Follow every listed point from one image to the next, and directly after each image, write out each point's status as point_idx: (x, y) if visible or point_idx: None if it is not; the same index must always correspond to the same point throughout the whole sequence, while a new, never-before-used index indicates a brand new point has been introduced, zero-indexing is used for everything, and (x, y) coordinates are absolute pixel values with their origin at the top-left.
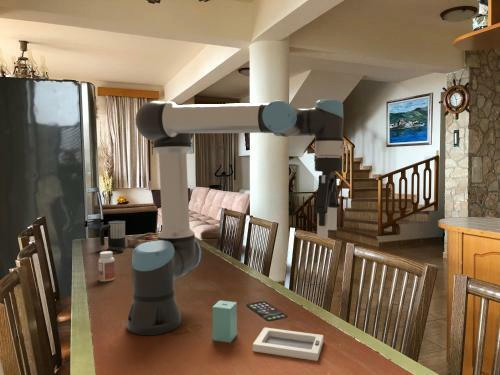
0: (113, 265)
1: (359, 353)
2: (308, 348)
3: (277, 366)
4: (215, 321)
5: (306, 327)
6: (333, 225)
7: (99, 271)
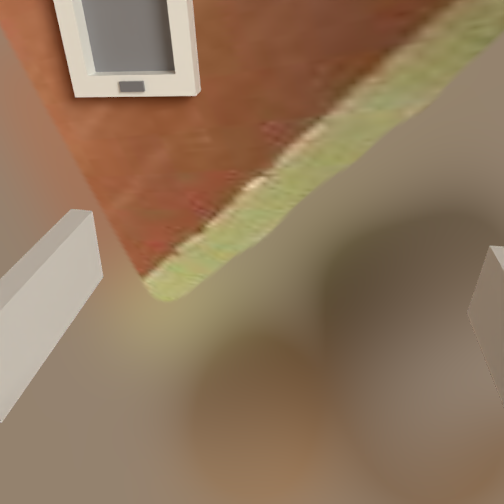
0: None
1: (174, 191)
2: (134, 54)
3: None
4: None
5: (293, 11)
6: (485, 320)
7: None
